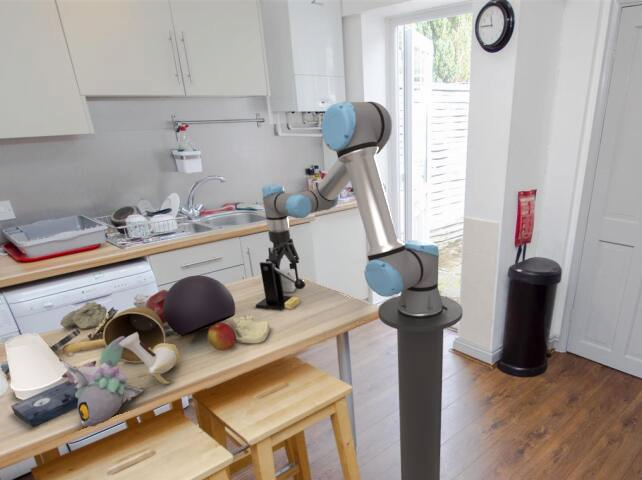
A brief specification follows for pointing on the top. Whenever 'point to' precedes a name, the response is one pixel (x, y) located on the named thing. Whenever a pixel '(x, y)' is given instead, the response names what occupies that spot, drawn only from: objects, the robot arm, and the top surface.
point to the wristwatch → (5, 368)
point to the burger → (103, 323)
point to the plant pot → (135, 330)
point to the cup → (32, 366)
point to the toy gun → (153, 356)
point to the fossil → (85, 316)
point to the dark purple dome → (197, 304)
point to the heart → (157, 304)
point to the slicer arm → (289, 277)
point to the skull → (141, 300)
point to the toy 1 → (64, 340)
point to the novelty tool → (95, 344)
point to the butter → (292, 302)
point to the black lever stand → (272, 287)
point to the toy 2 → (100, 386)
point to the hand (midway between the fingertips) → (286, 285)
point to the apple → (221, 336)
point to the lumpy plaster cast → (250, 330)
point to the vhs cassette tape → (46, 404)
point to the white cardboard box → (287, 284)
